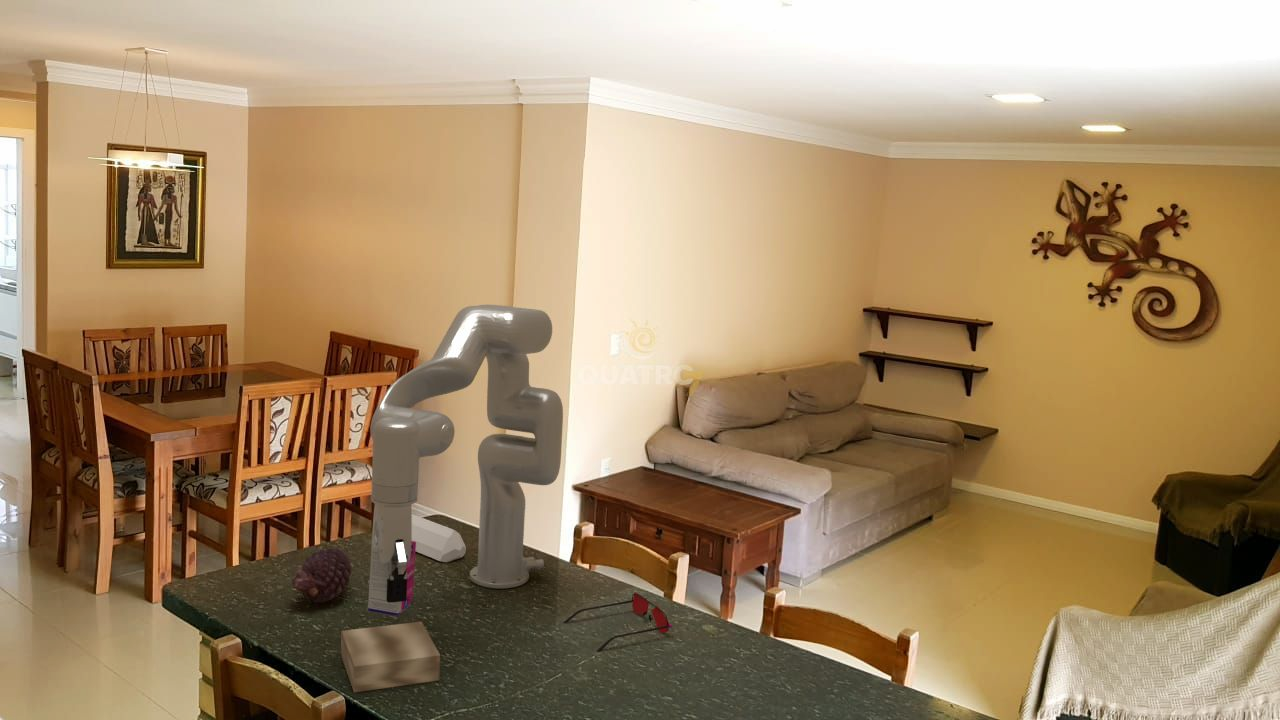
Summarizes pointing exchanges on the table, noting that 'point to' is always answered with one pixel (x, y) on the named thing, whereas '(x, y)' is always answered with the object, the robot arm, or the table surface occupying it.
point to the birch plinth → (389, 656)
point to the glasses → (639, 607)
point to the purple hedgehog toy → (323, 575)
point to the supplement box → (379, 585)
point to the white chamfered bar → (436, 540)
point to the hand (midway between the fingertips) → (391, 591)
